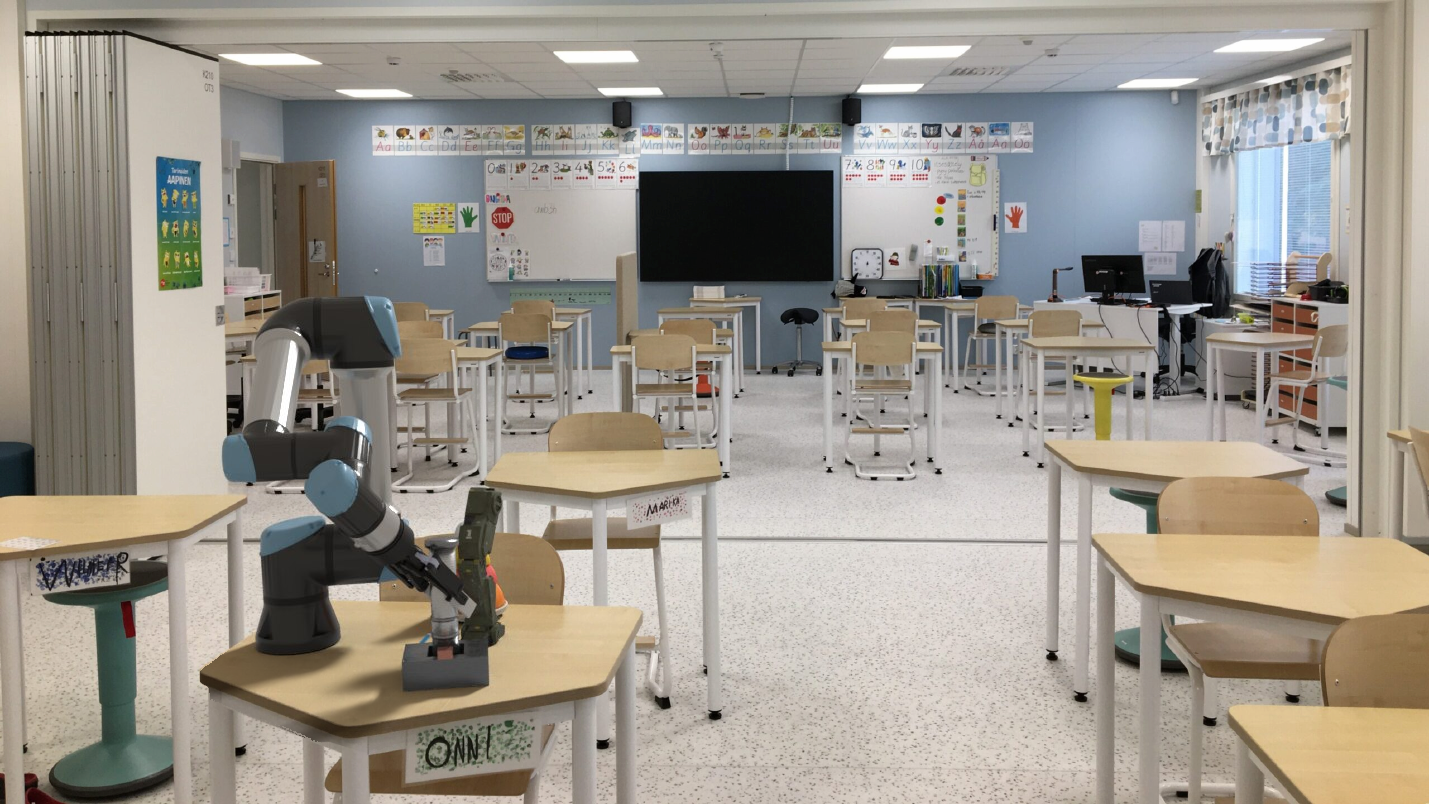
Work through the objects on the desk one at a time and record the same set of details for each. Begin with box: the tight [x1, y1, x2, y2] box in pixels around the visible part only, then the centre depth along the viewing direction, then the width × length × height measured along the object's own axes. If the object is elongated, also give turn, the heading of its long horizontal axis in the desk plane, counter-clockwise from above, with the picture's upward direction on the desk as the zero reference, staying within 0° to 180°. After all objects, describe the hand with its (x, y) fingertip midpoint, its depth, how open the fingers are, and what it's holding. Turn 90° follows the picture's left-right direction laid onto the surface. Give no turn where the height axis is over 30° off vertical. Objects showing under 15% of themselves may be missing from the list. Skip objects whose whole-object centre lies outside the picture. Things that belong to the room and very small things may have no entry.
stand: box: [401, 638, 490, 693], centre depth 197 cm, size 10×14×6 cm
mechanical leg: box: [457, 486, 506, 648], centre depth 217 cm, size 14×7×30 cm, turn 168°
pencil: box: [419, 631, 432, 643], centre depth 213 cm, size 1×17×1 cm, turn 177°
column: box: [424, 535, 461, 656], centre depth 196 cm, size 6×6×23 cm
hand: (460, 608), depth 199 cm, fingers closed on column, 4 cm apart
